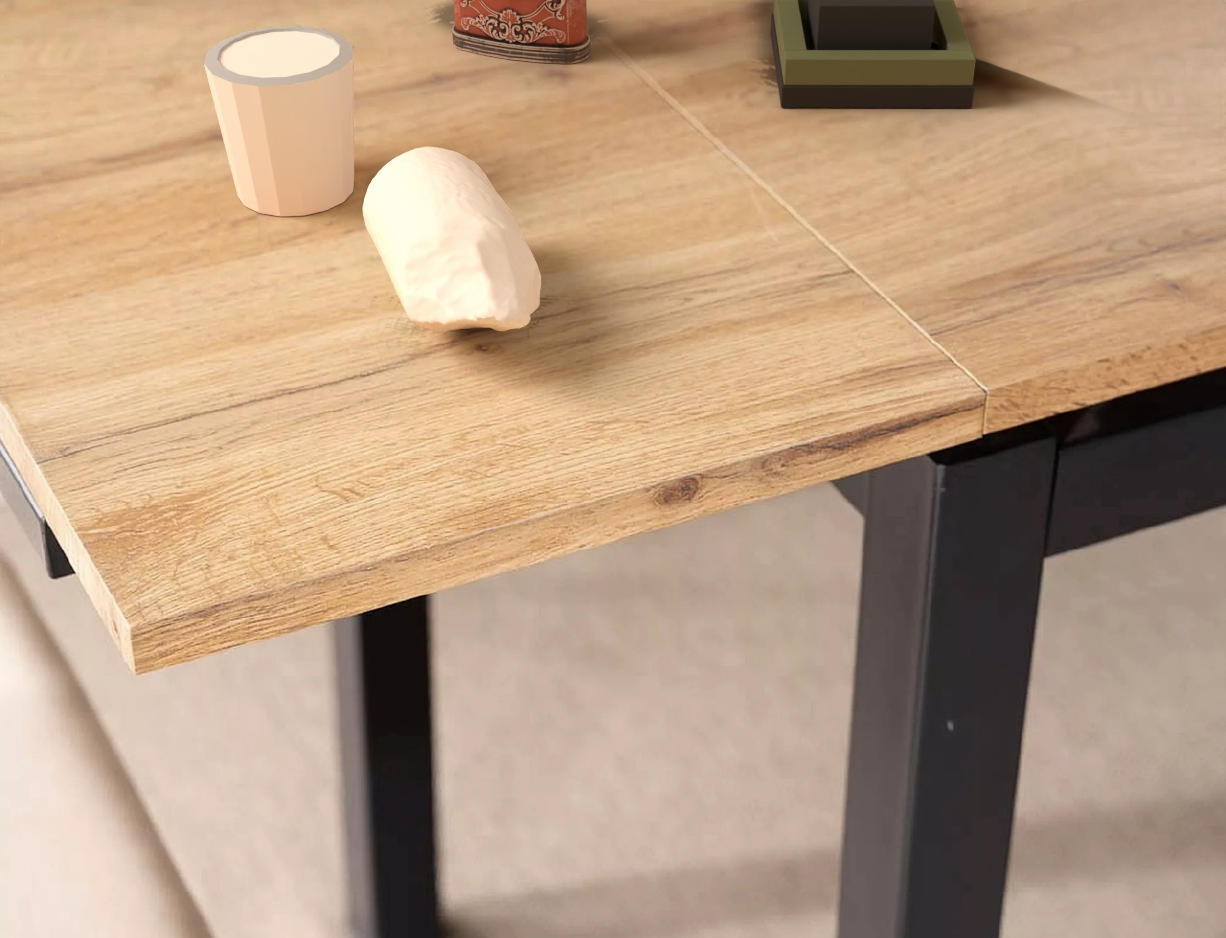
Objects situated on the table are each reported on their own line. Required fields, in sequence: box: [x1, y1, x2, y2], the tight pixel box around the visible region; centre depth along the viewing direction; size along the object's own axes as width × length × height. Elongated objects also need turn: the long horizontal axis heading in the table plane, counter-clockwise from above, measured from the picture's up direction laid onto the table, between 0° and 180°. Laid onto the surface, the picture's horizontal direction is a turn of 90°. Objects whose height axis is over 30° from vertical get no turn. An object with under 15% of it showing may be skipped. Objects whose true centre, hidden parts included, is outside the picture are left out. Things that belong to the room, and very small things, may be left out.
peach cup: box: [203, 25, 355, 217], centre depth 82 cm, size 7×7×7 cm
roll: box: [361, 146, 542, 333], centre depth 73 cm, size 6×12×6 cm, turn 18°
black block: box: [807, 0, 935, 50], centre depth 94 cm, size 6×6×4 cm
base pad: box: [769, 0, 977, 109], centre depth 95 cm, size 10×10×3 cm
